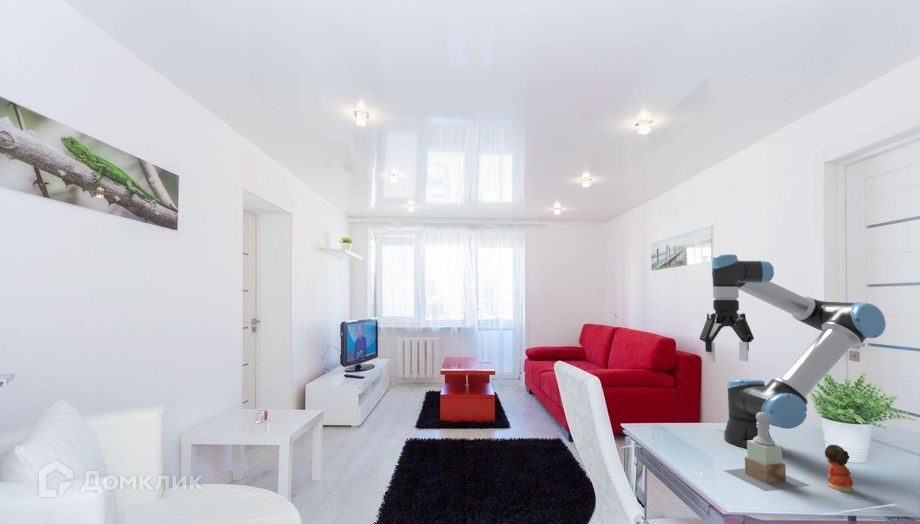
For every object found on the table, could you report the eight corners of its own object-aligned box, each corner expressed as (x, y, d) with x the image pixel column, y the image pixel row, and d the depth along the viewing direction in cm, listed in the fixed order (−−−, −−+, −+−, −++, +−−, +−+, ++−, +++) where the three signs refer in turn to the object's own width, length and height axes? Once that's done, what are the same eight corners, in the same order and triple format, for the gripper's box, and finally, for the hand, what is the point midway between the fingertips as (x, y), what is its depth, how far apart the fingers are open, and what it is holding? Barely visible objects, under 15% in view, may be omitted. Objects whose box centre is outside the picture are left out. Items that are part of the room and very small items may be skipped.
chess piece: (748, 441, 131) (747, 410, 131) (761, 439, 132) (760, 409, 133) (766, 447, 126) (765, 415, 126) (779, 445, 127) (778, 414, 128)
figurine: (860, 493, 120) (858, 448, 121) (846, 495, 118) (844, 450, 119) (835, 483, 126) (833, 441, 127) (821, 485, 124) (819, 442, 125)
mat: (765, 467, 137) (765, 466, 137) (810, 486, 123) (810, 485, 123) (723, 471, 133) (723, 470, 133) (765, 492, 120) (765, 490, 120)
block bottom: (763, 471, 133) (763, 455, 133) (785, 481, 126) (785, 463, 126) (745, 473, 131) (744, 456, 131) (766, 483, 124) (766, 465, 124)
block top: (763, 455, 132) (762, 439, 133) (782, 463, 126) (781, 445, 127) (747, 457, 131) (746, 440, 131) (765, 465, 125) (765, 447, 125)
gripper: (745, 299, 156) (747, 358, 155) (687, 298, 150) (688, 360, 149) (764, 299, 149) (767, 362, 147) (704, 299, 143) (705, 364, 142)
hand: (727, 361), depth 148 cm, fingers open, 13 cm apart
